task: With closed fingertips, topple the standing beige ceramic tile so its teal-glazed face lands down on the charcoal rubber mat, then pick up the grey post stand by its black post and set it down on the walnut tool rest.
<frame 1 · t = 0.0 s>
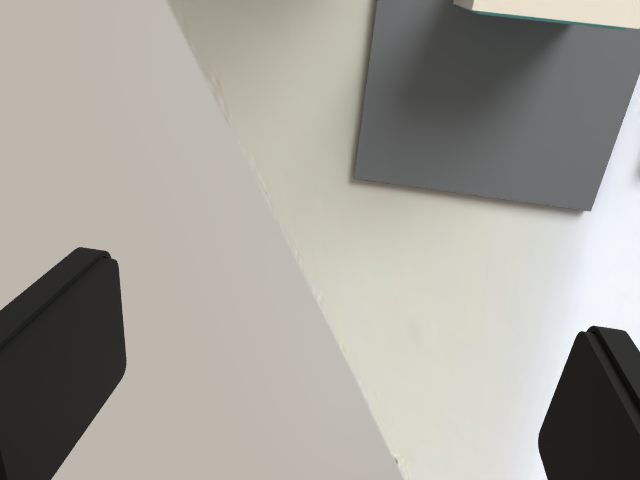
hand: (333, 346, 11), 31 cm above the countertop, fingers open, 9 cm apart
mat: (500, 57, 37), on the countertop
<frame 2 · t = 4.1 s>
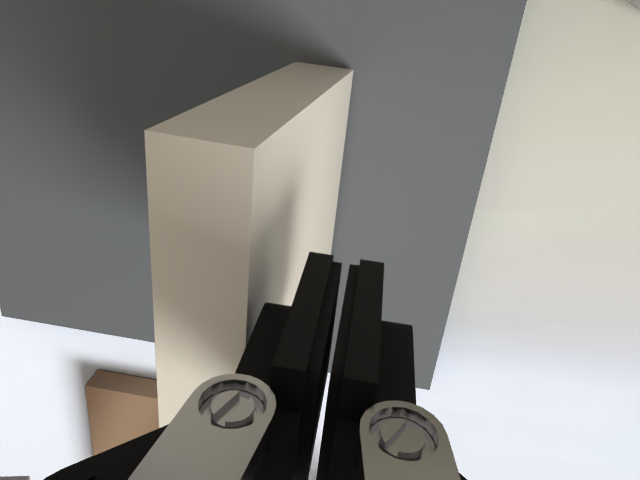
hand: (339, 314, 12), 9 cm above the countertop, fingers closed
mat: (216, 155, 21), on the countertop
tool rest: (194, 471, 29), on the countertop
tile: (313, 177, 20), point 1 cm above the countertop, touching gripper, mat
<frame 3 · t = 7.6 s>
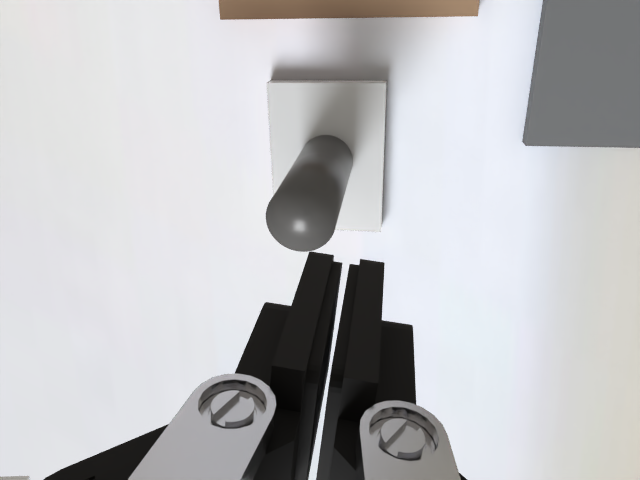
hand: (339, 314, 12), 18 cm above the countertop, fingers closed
grey post stand: (328, 155, 29), on the countertop
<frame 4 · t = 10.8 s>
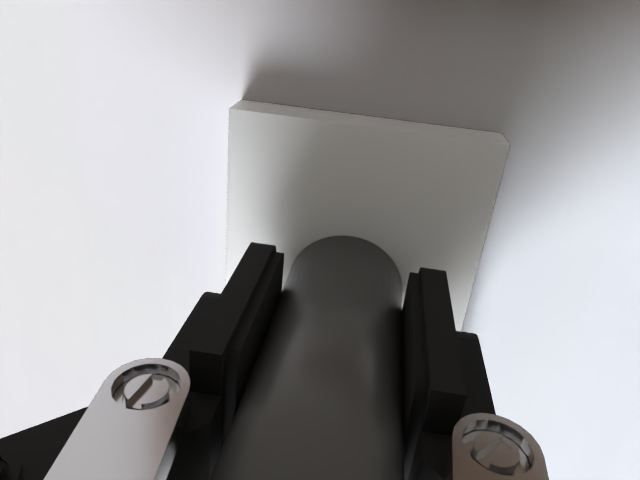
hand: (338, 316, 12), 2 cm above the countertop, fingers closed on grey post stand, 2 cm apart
grey post stand: (347, 267, 14), on the countertop, touching gripper
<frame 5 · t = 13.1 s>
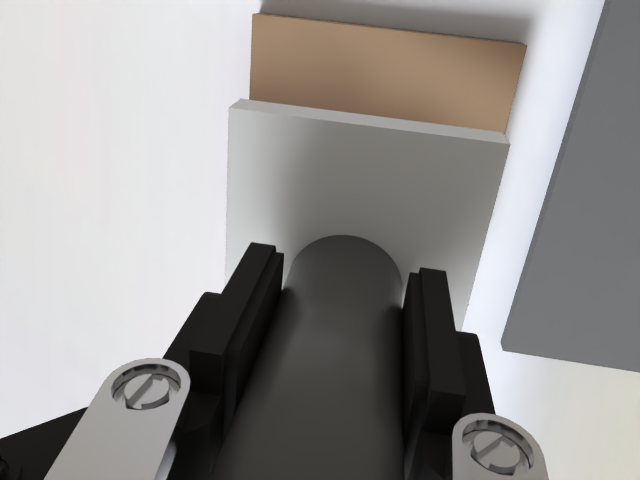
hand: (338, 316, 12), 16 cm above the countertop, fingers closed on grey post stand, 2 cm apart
grey post stand: (347, 267, 14), point 14 cm above the countertop, touching gripper
tool rest: (372, 134, 26), on the countertop
when the fingers open (5 cm above the countertop, at t = 15.3 s): grey post stand drops 1 cm, resting on tool rest.
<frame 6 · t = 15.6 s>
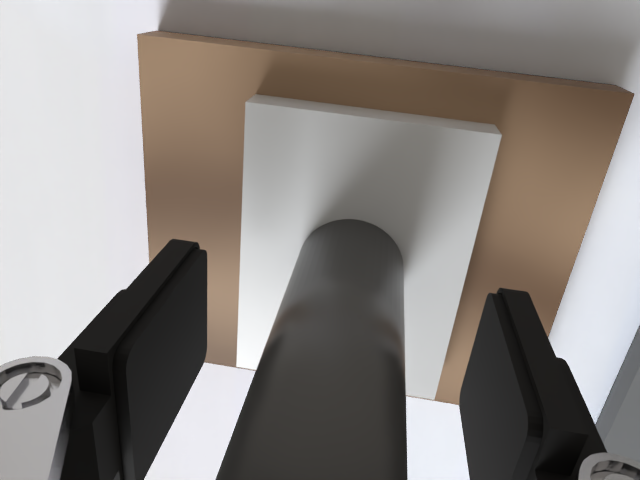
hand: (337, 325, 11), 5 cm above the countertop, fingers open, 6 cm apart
grey post stand: (353, 250, 15), point 1 cm above the countertop, touching tool rest
tool rest: (354, 229, 16), on the countertop
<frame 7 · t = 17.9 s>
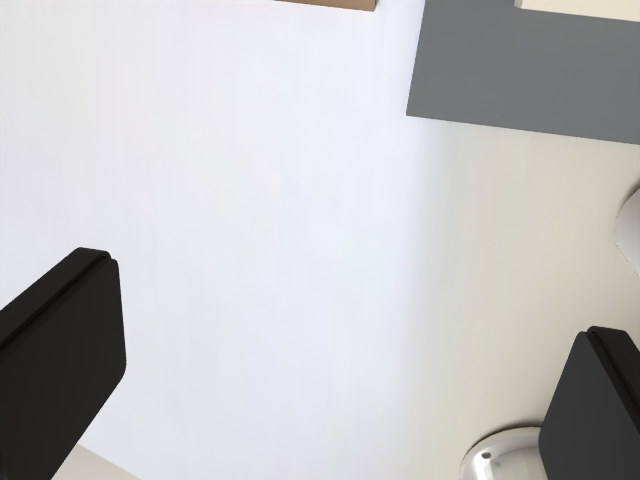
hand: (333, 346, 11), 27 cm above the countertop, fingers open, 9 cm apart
tile: (589, 15, 30), point 2 cm above the countertop, tilted 90°, touching mat
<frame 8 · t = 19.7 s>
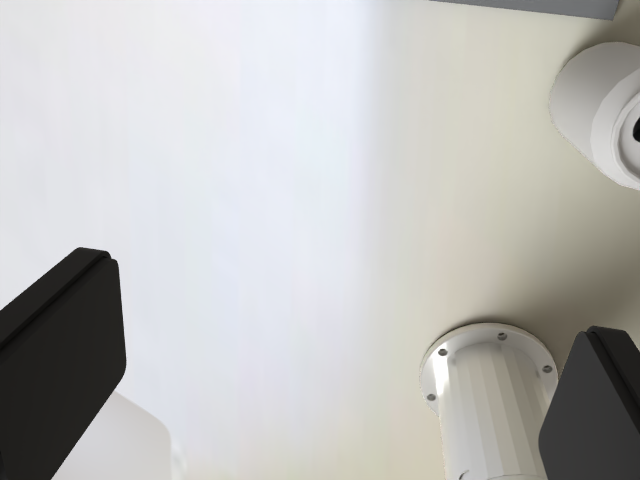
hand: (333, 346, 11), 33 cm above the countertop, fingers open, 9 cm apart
can: (598, 93, 39), on the countertop
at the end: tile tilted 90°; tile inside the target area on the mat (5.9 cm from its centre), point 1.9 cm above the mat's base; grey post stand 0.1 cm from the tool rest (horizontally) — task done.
